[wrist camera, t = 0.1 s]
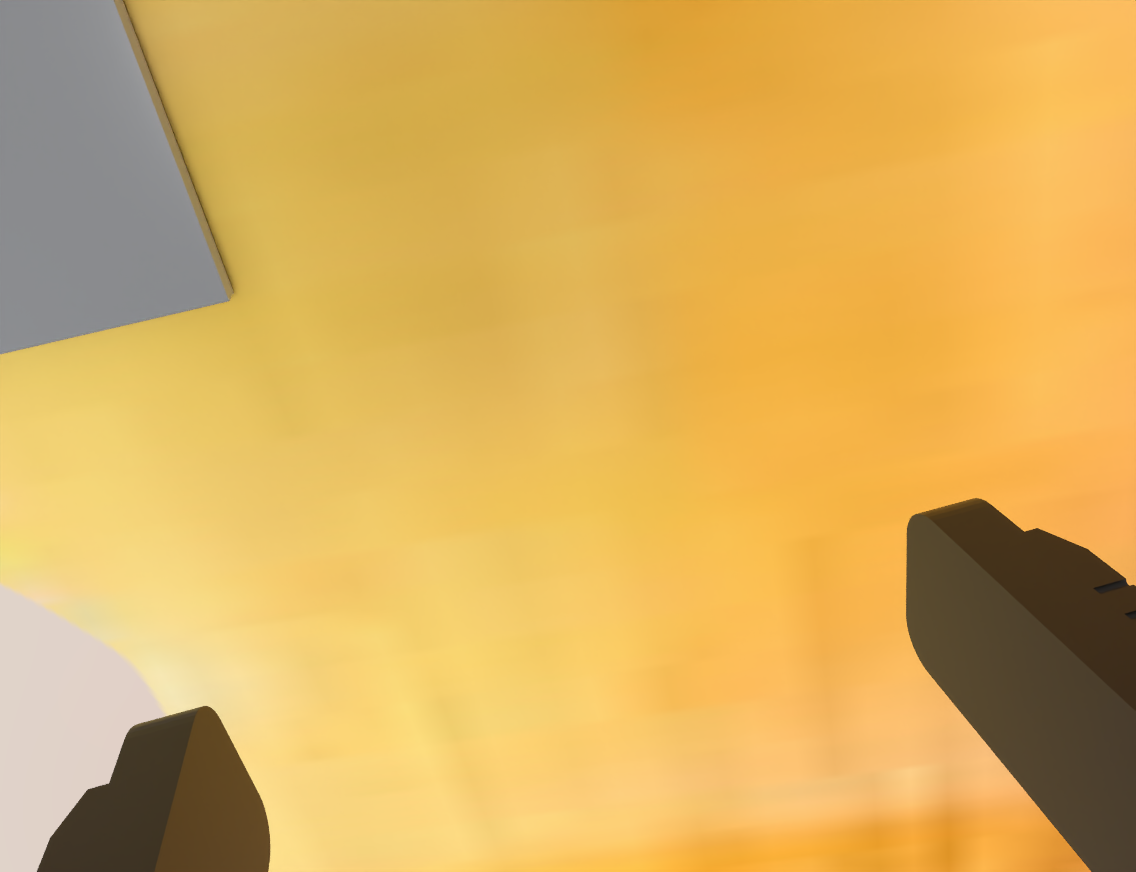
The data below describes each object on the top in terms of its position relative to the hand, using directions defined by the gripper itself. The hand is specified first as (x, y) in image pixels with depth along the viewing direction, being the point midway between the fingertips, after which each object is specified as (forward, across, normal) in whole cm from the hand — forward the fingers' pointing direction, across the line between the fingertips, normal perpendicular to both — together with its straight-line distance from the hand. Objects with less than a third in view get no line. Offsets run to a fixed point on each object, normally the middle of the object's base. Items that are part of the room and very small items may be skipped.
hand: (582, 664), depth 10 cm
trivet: (+29, +15, -4) cm, 33 cm away
